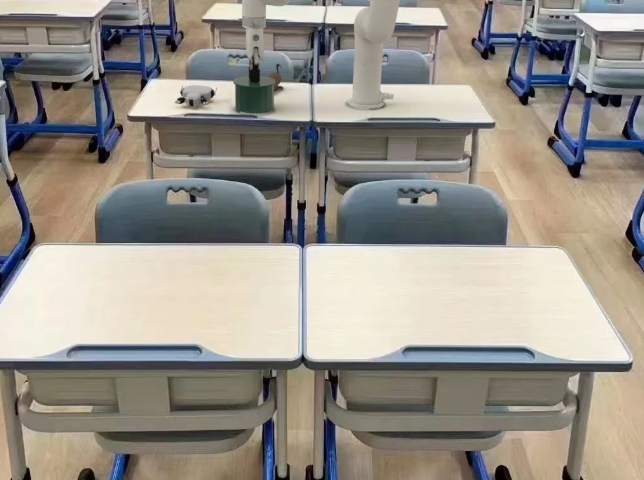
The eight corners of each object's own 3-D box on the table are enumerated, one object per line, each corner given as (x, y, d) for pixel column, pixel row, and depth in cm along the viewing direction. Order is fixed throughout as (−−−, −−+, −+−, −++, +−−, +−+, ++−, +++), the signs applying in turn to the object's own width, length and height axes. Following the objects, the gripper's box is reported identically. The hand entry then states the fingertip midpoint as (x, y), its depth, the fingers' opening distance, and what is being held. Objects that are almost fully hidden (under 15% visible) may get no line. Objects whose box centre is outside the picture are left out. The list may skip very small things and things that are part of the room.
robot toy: (209, 113, 270) (218, 97, 283) (208, 99, 268) (217, 85, 280) (173, 111, 271) (183, 96, 284) (172, 97, 269) (182, 83, 281)
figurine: (275, 84, 301) (275, 60, 297) (286, 86, 300) (286, 61, 296) (262, 94, 290) (262, 69, 285) (274, 95, 288) (274, 70, 284)
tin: (270, 104, 279) (270, 77, 274) (276, 114, 268) (276, 87, 263) (233, 105, 277) (233, 78, 272) (237, 115, 266) (237, 88, 261)
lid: (272, 78, 275) (272, 60, 272) (278, 89, 263) (278, 70, 260) (231, 79, 273) (230, 60, 269) (235, 90, 261) (235, 70, 258)
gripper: (269, 26, 252) (269, 86, 261) (262, 17, 265) (262, 74, 275) (245, 27, 250) (245, 87, 260) (239, 17, 264) (240, 74, 274)
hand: (254, 80), depth 267 cm, fingers closed on lid, 2 cm apart
